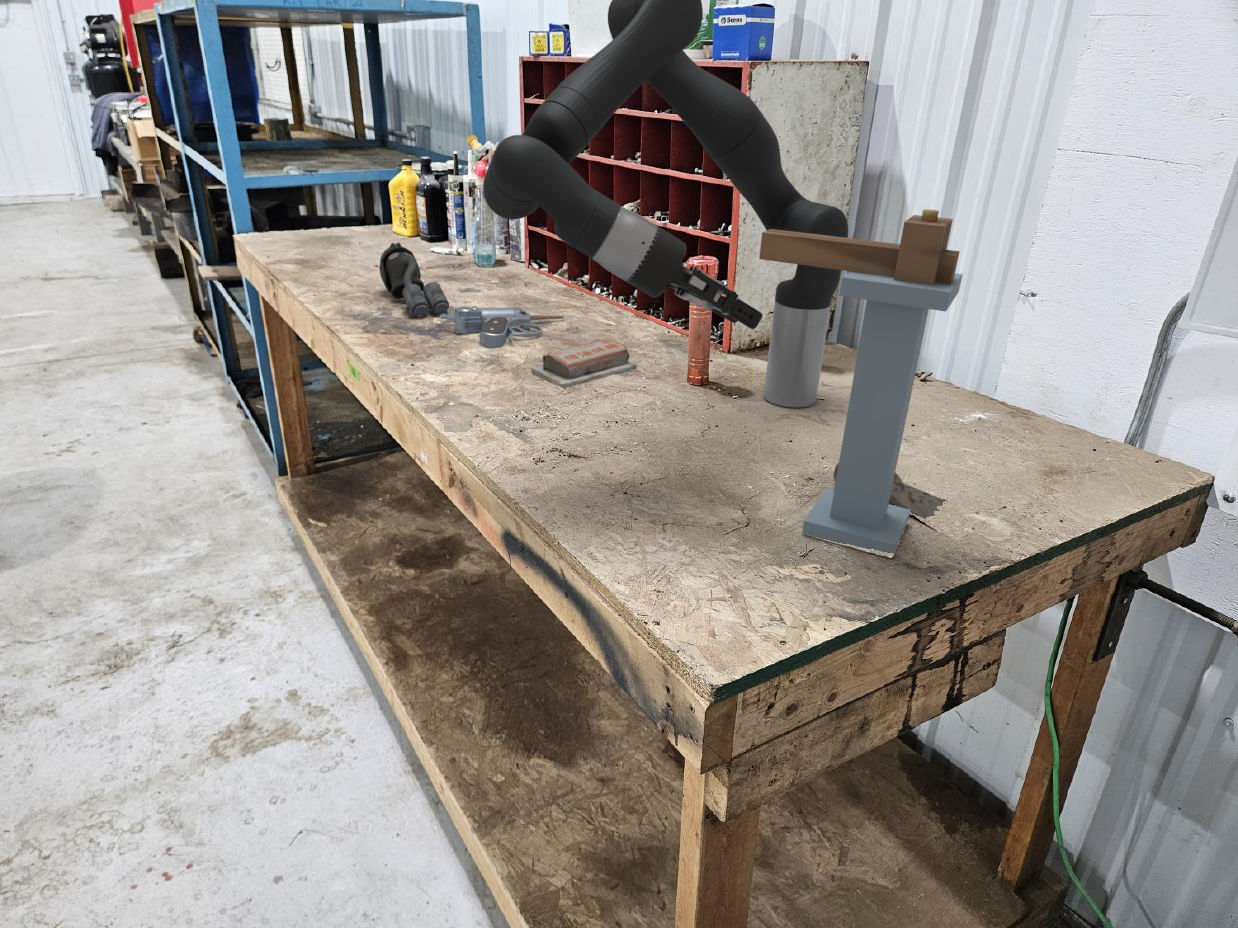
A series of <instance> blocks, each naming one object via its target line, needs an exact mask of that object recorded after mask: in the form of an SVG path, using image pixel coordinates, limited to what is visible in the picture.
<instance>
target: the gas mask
mask: <svg viewBox="0 0 1238 928" xmlns="http://www.w3.org/2000/svg"><path fill="white" fill-rule="evenodd" d="M378 268H379V274H380V278H381V280H382V283H383V284H384V286H385V289H386V290H387V292H388V293H389V294H391V296H392V297H394V299H399V300H401V303H402V304H403V305H406V307H405V308H404V310H405V311H406V312H409V313H410V314H408V318H409V319H417V317H422V318H425V317H426V318H427V317H435V316H437V315H441V314H446V315H449V308H450V302H449V301H448V299H447V297H446V295H445V293H444V290H443V288H442V287H441V284H440V283H438V282H437V281H431V282H427V283H426V284H425V283H424V282H423V281H422V280H421V277H422V274H421V269H420V266H419V264H418V261H417V259H416V257H415V255H414V253H413V252H412V251H411V250H409V249H408V248H407V247H405V246H402V244H401V242H397V243H394V242H392V243H390V246H389V247H387V248H386V249H385V250H383V252H382V253H381V255H380V260H379V266H378ZM400 298H404V299H400Z"/></svg>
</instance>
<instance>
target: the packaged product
mask: <svg viewBox="0 0 1238 928" xmlns="http://www.w3.org/2000/svg"><path fill="white" fill-rule="evenodd" d="M629 360H630V353H629V351H628V347H627V346H626V345H625V344H624V343H621V342H618V341H616V340H612V339H610V338H609V339H607V338H606V339H602V340H598V341H593V342H589V343H585V344H580V345H576V346H571V347H567V348H563V349H558V350H554V351H549V352H547V353H544V354H543V355H542V364H537V365H533V366H531V367H530V370H531V374H533V375H534V376H537V377H539V378H541V379H543V380H545V381H547V382H550V383H551V384H553V385H556V386H558V387H561V388H563V389H564V388H568V387H572V386H575V385H578V384H581V383H586V382H590V381H593V380H597V379H603V378H606V377H607V378H608V377H609V376H613V375H616V374H620V373H622V372H626V371H629V370H634V369H636V368H637V367H638V365H637V363H634V362H631V361H629Z"/></svg>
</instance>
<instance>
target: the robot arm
mask: <svg viewBox="0 0 1238 928" xmlns="http://www.w3.org/2000/svg"><path fill="white" fill-rule="evenodd" d="M607 9H608V11H607V25H608V28H609V29H608V30H609V33H610V37H611V38H612V40H611V41H610V42H609V43H608V44H607V45H605V46H604V47H603V48H602V49H600V50H599V51H598V52H596V53H595V54H594V55H593V56H591V57H590V58H589V59H587V60H586V61H585V62H584V63H582V64H581V65H580V66H578V68H575V70H574V71H572V72H571V73H570V74H569V75H568V76H567V77H566V78H564V80H562V81H561V82H560V83H559V84H558V86H557V87H556V88H554V89H553V91H552V92H551V93H550V94H549V95H548V96H547V97H546V99H545V100H544V101H543V102H542V103H541V104H540V105H539V106H538V108H537V109H536V110H535V111H534V113H533V114H532V116H531V118H530V119H529V122H528V124H527V126H526V128H524V131H523V132H522V134H514V135H509V136H508V137H506V138H503V140H501V141H500V143H499V142H498V145H497V146H496V147H495V150H494V152H493V155H492V158H491V161H490V163H489V165H488V168H487V170H486V173H485V176H484V178H483V187H482V188H483V196H484V199H485V203H486V204H487V206H488V208H490V210H491V211H492V212H493V213H494V214H495V215H497V216H498V217H499V218H500V217H501V218H503V219H507V220H519V219H524V218H526V217H528V216H530V215H531V214H533V213H534V212H535V211H536V210H537V208H541V210H543V211H544V212H545V213H546V214H547V215H549V216H550V217H551V218H552V219H553V222H554V227H553V230H554V233H555V235H556V236H557V237H558V238H559V239H560V240H561V241H563V242H564V243H565V244H567V245H568V246H570V247H572V248H573V249H575V250H577V251H578V252H581V253H582V254H583V255H585V256H586V257H589V258H591V259H592V260H593V261H595V262H596V263H598V264H599V265H600V266H601V267H603V269H604V270H606V271H608V272H610V273H611V274H613V275H615V277H618V278H619V279H621V280H623V281H625V282H626V283H627V284H629V285H631V286H633V287H635V288H636V289H638V290H640V291H641V292H643V293H644V294H646V295H648V297H651V298H658V297H660V296H661V295H662V294H664V293H665V291H666V290H667V288H669V289H670V288H671V289H673V290H674V295H675V296H677V297H678V298H680V299H682V300H684V301H688V302H689V303H690V304H692V305H694V306H696V307H703V309H705V310H708V311H712V312H714V313H715V314H717V315H719V316H720V317H722V318H724V319H725V320H727V321H729V322H730V323H731V324H736V323H738V322H739V323H741V324H742V325H744V326H746V327H747V328H748V329H750V330H751V329H752V330H755V329H756V328H757V327H758V325H759V323H760V322H761V321H762V318H763V312H761V311H759V310H758V309H756V308H755V307H753V306H751V305H750V304H748V303H746V301H744V300H742V299H740V297H739V295H738V294H737V292H736V291H735V290H731V289H729V288H728V287H726V286H725V285H724V284H723V283H722V282H721V281H720V280H717V279H716V278H715V277H714V278H713V277H712V276H710V275H708V274H707V273H706V272H705V271H704V270H703V269H701V268H699V267H698V266H694V267H693V266H692V265H691V266H689V268H687V267H685V266H684V265H683V260H684V258H685V257H686V254H687V244H686V243H685V242H683V241H682V240H681V239H679V238H677V237H676V236H674V235H673V234H671V233H670V232H668V231H666V230H664V229H663V228H661V227H660V226H658V225H656V224H655V223H653V222H652V221H650V220H649V219H647V218H645V217H644V216H642V215H641V214H639V213H637V212H635V211H632V210H630V209H628V208H625V207H624V206H621V205H620V204H619V203H617V202H615V201H614V200H612V199H611V198H609V197H607V196H606V195H605V194H602V193H601V192H599V191H598V190H596V189H594V188H592V187H591V186H590V185H589V184H588V183H587V182H586V180H585V179H584V178H583V177H582V176H581V175H580V174H579V173H578V172H577V171H576V170H575V168H573V167H572V166H571V163H572V162H573V161H574V160H575V159H576V157H578V156H579V155H580V154H581V153H582V152H584V150H585V148H586V147H587V146H588V145H589V144H590V143H591V142H592V140H593V139H594V138H595V136H597V134H598V133H599V132H600V131H601V129H602V128H603V127H604V126H605V125H606V124H607V122H608V121H609V120H610V119H611V118H612V116H613V115H614V114H615V113H616V112H617V111H618V109H620V107H621V106H622V105H624V103H625V102H626V101H627V100H628V99H629V98H630V97H632V95H633V94H634V93H635V92H636V91H637V90H638V89H639V88H640V87H641V86H642V85H643V84H644V83H645V82H647V83H648V84H649V85H650V86H651V87H652V88H653V89H654V90H655V91H656V92H657V93H658V94H659V95H660V96H661V98H663V99H664V100H665V102H666V103H667V104H668V105H669V106H670V107H671V108H672V110H673V111H674V112H675V113H676V115H677V116H678V117H679V119H681V120H682V121H683V123H684V124H685V125H686V127H687V128H688V129H689V130H690V131H691V133H692V134H693V135H694V136H695V138H696V139H697V140H698V142H699V143H700V144H701V146H702V148H704V150H705V151H706V153H707V154H708V155H709V156H710V158H711V160H713V162H714V164H716V165H717V167H718V168H719V169H720V171H721V172H723V174H724V175H725V176H726V177H727V178H728V179H729V181H730V182H731V183H732V185H733V186H734V188H735V189H737V191H738V192H739V193H740V195H741V196H742V197H743V198H744V200H746V202H747V203H748V204H749V205H750V207H751V209H753V210H754V212H755V214H756V215H757V217H758V219H759V220H760V222H761V224H762V225H763V226H764V229H765V231H767V230H769V229H775V230H784V231H792V232H801V233H809V234H818V235H826V236H835V237H843V238H849V223H848V219H847V217H846V214H845V213H844V211H842V210H841V209H840V208H839V207H836V206H833V205H830V204H829V205H828V204H825V203H821V202H814V201H811V200H809V199H807V198H805V196H803V195H802V194H801V193H800V192H799V191H798V190H797V189H796V187H795V186H794V185H793V184H792V182H791V181H790V180H789V179H788V177H787V176H786V174H785V172H784V170H783V165H782V158H781V157H782V155H781V149H780V143H779V141H778V137H777V135H776V133H775V131H774V129H773V128H772V125H771V124H770V123H769V121H768V120H767V118H766V117H765V116H764V114H763V113H762V112H761V110H760V108H759V107H758V105H757V104H756V103H755V102H754V101H753V100H752V98H750V97H749V96H748V95H747V94H746V93H745V92H742V91H741V89H738V88H737V87H735V86H733V84H730V83H728V82H727V81H724V80H723V79H722V78H719V77H717V76H715V75H714V74H712V73H710V72H708V71H707V70H705V69H703V68H702V67H701V66H700V65H698V64H697V63H696V62H695V61H693V59H691V58H690V57H689V55H687V53H686V52H685V50H684V49H686V48H687V47H688V46H690V45H691V44H692V43H693V42H694V41H695V39H696V38H697V36H698V35H699V34H700V33H699V32H700V30H701V27H702V23H703V19H704V18H703V17H704V15H703V12H704V10H703V9H704V8H703V2H702V0H612V1H610V4H609V5H608V8H607ZM795 269H796V270H795V274H794V276H793V277H792V278H790V279H785V280H783V281H780V282H779V283H778V284H777V286H776V288H775V294H774V295H775V296H774V304H773V305H774V306H773V312H772V321H771V322H772V323H771V330H770V336H769V347H768V355H767V365H766V370H765V376H764V378H765V379H764V385H763V387H764V388H763V398H764V400H766V401H768V403H769V402H770V403H771V404H774V405H777V406H780V407H786V408H805V407H810V406H813V405H814V404H816V402H817V396H818V392H819V391H818V390H819V384H820V379H821V371H822V365H823V358H824V352H825V347H826V346H825V344H826V340H827V339H826V338H827V333H828V327H829V326H828V324H829V317H830V313H831V305H832V301H833V300H832V299H833V296H834V295H835V292H836V290H837V289H838V286H839V284H840V279H841V275H842V270H836V269H829V268H821V267H814V266H807V265H799V264H796V268H795ZM723 295H724V296H723Z"/></svg>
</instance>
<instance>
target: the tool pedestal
mask: <svg viewBox="0 0 1238 928" xmlns="http://www.w3.org/2000/svg"><path fill="white" fill-rule="evenodd" d="M962 278H963V273H956V272H955V276H954V280H953V281H952V282H951V284H950V285H947V284H940V283H934V285H933V286H932V285H925V284H918V283H910V282H903V281H896V280H894V277H888V276H881V275H873V274H866V273H859V272H851V271H847V273H846V274H845V275H843V276H842V277H841V281H840V288H839V294H838V295H839V297H846V298H853V299H857V300H859V299H860V300H864V301H865V300H866V302H865V307H864V314H863V320H862V326H861V331H860V336H859V337H860V338H859V342H858V350H857V355H856V360H855V366H854V372H853V378H852V379H853V380H852V385H851V390H850V391H851V392H850V394H849V395H850V397H849V401H848V408H847V413H846V418H845V419H846V420H845V427H844V432H843V437H842V443H841V449H840V454H839V460H838V462H839V465H838V471H837V477H836V483H835V482H834V490H833V489H829V488H825V489H824V490H823V492H822V493H821V495H820V496H819V498H818V499H817V501H816V502H815V504H814V505H813V507H812V508H811V509H810V511H809V513H808V514H807V516H806V517H805V518H804V521H803V526H802V534H805V535H809V536H813V537H818V538H821V539H826V540H830V541H833V542H837V543H842V544H850V545H854V546H857V547H862V548H866V549H874V550H879V551H882V552H887V553H893V554H894V552H895V550H896V547H897V545H898V543H899V540H900V538H901V536H902V533H903V531H904V529H905V526H906V524H907V521H908V522H909V520H910V516H911V515H910V511H911V510H910V509H906V508H902V507H898V506H894V505H892V504H891V503H889V500H890V495H891V490H892V485H893V480H894V476H895V472H896V471H897V466H898V465H897V464H898V461H899V456H900V452H901V450H900V449H901V446H902V440H903V436H904V433H905V432H904V431H905V426H906V422H907V417H908V416H907V415H908V412H909V407H910V402H911V398H912V393H913V387H914V383H915V377H916V374H917V373H916V372H917V367H918V363H919V360H920V359H919V358H920V354H921V353H920V352H921V349H922V344H923V338H924V334H925V328H926V325H927V321H928V320H927V319H928V315H929V310H934V311H940V312H947V311H948V309H949V308H950V306H951V304H952V303H953V301H954V300H955V299H956V297H957V296H958V294H959V292H960V288H961V283H962ZM908 519H909V520H908ZM907 525H908V524H907ZM906 527H907V526H906ZM905 530H906V529H905ZM904 532H905V531H904ZM802 534H801V535H802ZM903 534H904V533H903ZM805 535H804V536H805ZM809 536H808V537H809ZM902 537H903V536H902ZM901 539H902V538H901ZM900 541H901V540H900ZM899 544H900V543H899ZM898 546H899V545H898ZM896 551H897V550H896ZM895 553H896V552H895Z"/></svg>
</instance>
